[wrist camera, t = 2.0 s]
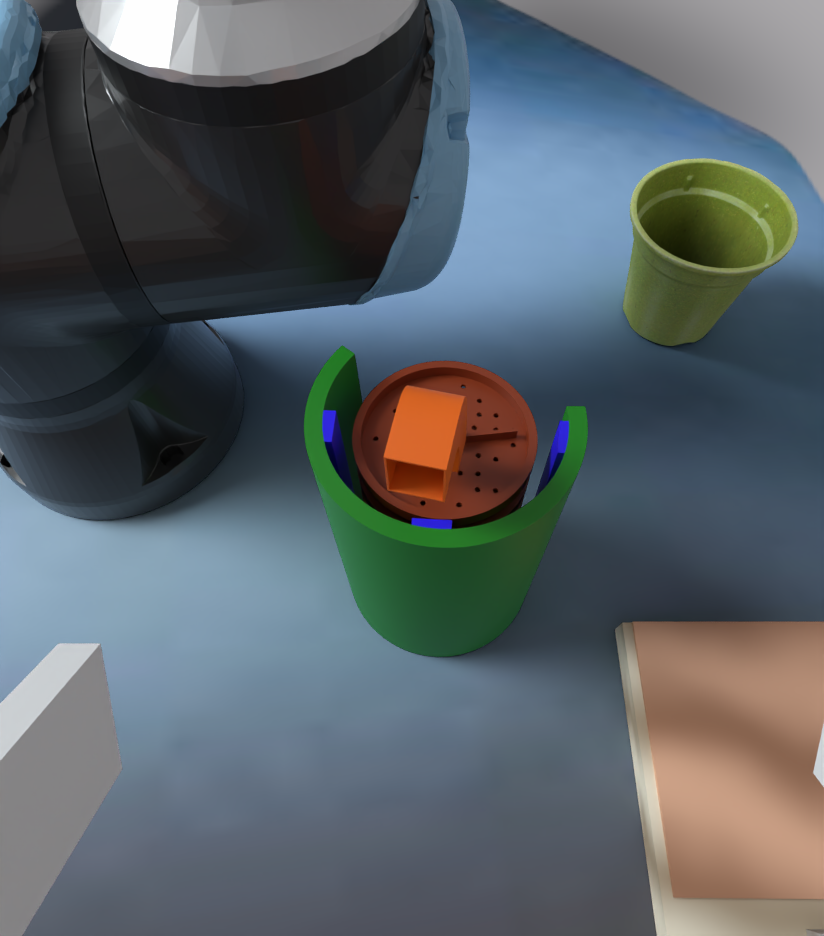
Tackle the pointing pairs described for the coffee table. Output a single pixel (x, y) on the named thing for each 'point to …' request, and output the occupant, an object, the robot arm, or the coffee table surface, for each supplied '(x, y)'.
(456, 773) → the coffee table surface
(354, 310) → the coffee table surface
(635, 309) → the plant pot
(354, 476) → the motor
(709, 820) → the board
